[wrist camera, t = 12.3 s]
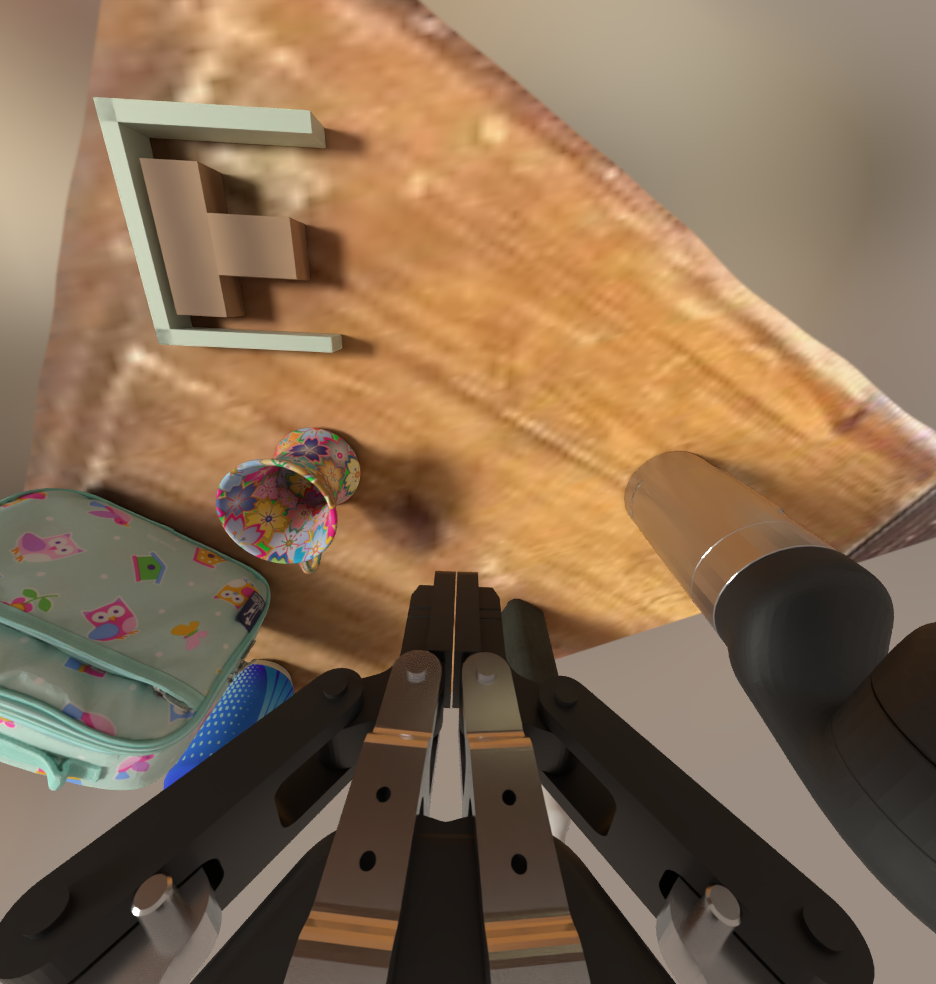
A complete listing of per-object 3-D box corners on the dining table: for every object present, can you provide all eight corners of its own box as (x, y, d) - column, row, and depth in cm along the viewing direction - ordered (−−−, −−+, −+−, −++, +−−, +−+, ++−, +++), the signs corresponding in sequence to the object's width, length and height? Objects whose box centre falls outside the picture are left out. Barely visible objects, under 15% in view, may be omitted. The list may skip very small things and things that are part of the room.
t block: (299, 177, 31) (283, 166, 28) (315, 319, 35) (301, 321, 32) (168, 170, 31) (139, 157, 28) (199, 313, 35) (176, 314, 32)
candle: (513, 595, 48) (553, 854, 26) (547, 613, 50) (614, 874, 27) (489, 623, 50) (508, 886, 28) (523, 639, 51) (567, 904, 29)
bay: (324, 127, 30) (309, 110, 27) (342, 348, 36) (332, 352, 34) (127, 115, 29) (92, 97, 27) (182, 340, 36) (158, 344, 33)
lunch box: (303, 581, 48) (191, 774, 28) (269, 635, 51) (150, 839, 32) (59, 463, 41) (-303, 609, 22) (41, 535, 45) (-284, 714, 25)
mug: (261, 426, 39) (196, 467, 30) (355, 416, 39) (318, 454, 29) (297, 531, 45) (250, 594, 35) (380, 523, 44) (356, 585, 35)
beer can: (258, 705, 57) (188, 844, 42) (220, 666, 53) (129, 802, 39) (309, 689, 55) (254, 826, 41) (273, 647, 52) (199, 781, 38)
